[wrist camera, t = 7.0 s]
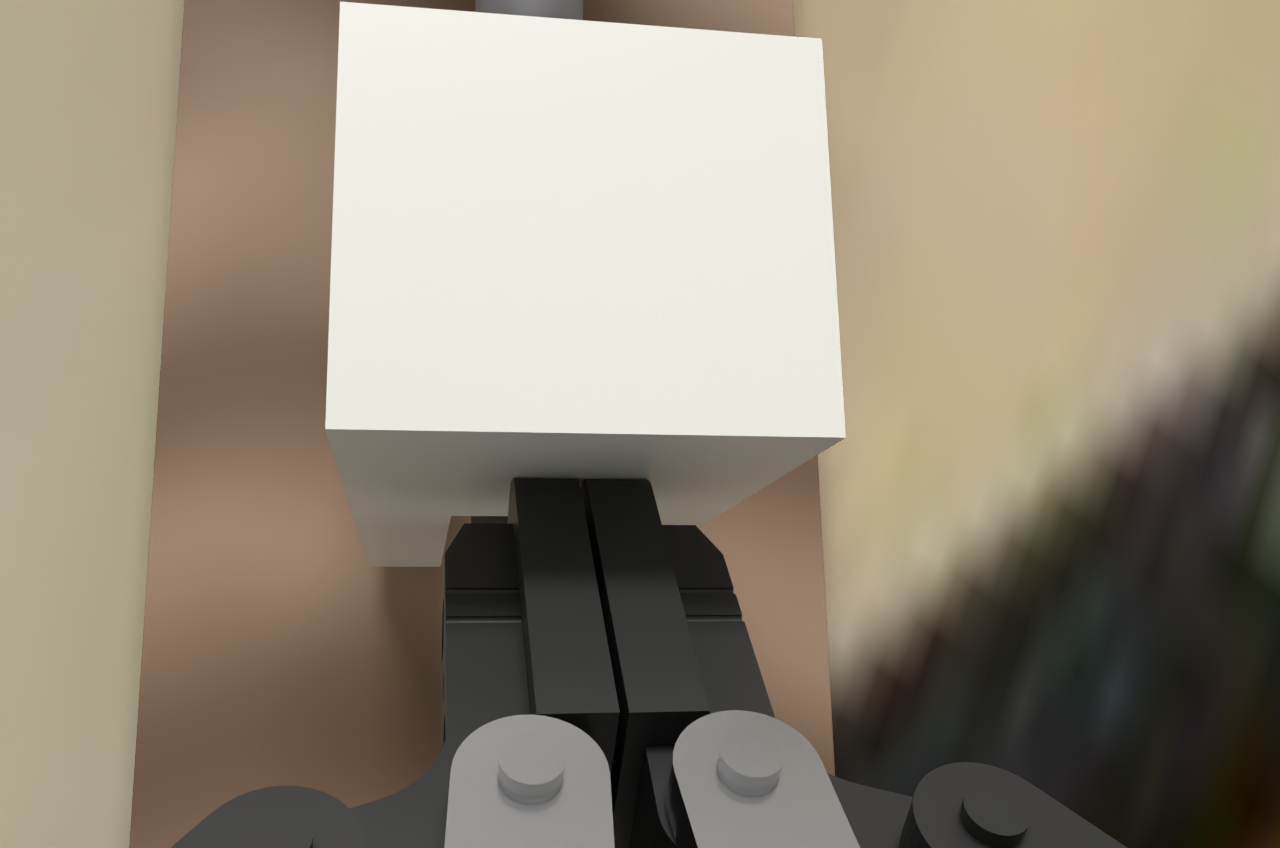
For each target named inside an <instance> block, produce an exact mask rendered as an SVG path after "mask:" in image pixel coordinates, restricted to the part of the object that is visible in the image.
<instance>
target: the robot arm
mask: <svg viewBox="0 0 1280 848" xmlns="http://www.w3.org/2000/svg"><path fill="white" fill-rule="evenodd" d="M733 589H734V587H733V584H732V581H731V578H730V574H729V571H728V568H727V565H726V562H725V559H724V556H723V554H722V553H721V552H720V551H719V549H718V548H717V547H716V546H715V545H714V544H713V543H712V542H711V541H710V540H709V539H708V538H707V537H706V536H705V535H704V534H703V533H702V531H701V530H700V529H699V528H698V527H697V526H696V525H662V523H661V519H660V515H659V512H658V508H657V504H656V500H655V496H654V492H653V489H652V485H651V483H650V481H649V480H613V479H584V480H583V482H582V484H581V488H580V483H579V480H578V479H559V478H513V479H512V481H511V485H510V494H509V508H508V522H507V524H500V523H464V524H463V526H462V527H461V529H460V530H459V532H458V533H457V535H456V537H455V538H454V540H453V541H452V543H451V544H450V546H449V548H448V549H447V551H446V552H445V560H444V586H443V611H442V637H441V752H440V754H439V756H438V758H437V759H436V761H435V762H434V763H433V765H432V766H431V767H430V769H429V770H428V771H426V772H425V773H424V774H423V775H422V776H421V777H420V778H419V779H418V780H416V781H415V782H413V783H412V784H411V785H409V786H408V787H406V788H404V789H402V790H400V791H398V792H396V793H394V794H392V795H389V796H387V797H384V798H381V799H379V800H375V801H372V802H369V803H366V804H362V805H359V806H356V807H353V808H350V809H349V808H348V807H347V806H346V805H345V804H344V803H342V802H341V801H340V800H338V799H337V798H335V797H333V796H331V795H329V794H327V793H325V792H323V791H319V790H316V789H313V788H309V787H302V786H273V787H266V788H262V789H258V790H254V791H250V792H248V793H245V794H243V795H240V796H237V797H235V798H234V799H232V800H230V801H228V802H226V803H224V804H223V805H221V806H220V807H219V808H217V809H216V810H215V811H213V812H212V813H211V814H209V815H208V816H207V817H206V818H205V819H204V820H202V821H201V822H200V823H199V824H198V825H197V826H195V827H194V828H193V829H192V830H191V831H189V832H188V833H187V834H186V835H185V836H184V837H182V838H181V839H180V840H179V841H178V842H177V843H175V844H174V845H173V846H172V847H171V848H1127V847H1125V846H1124V845H1122V844H1121V843H1119V842H1118V841H1116V840H1115V839H1113V838H1112V837H1110V836H1109V835H1107V834H1106V833H1104V832H1103V831H1101V830H1100V829H1098V828H1097V827H1095V826H1094V825H1092V824H1091V823H1089V822H1088V821H1086V820H1085V819H1083V818H1082V817H1080V816H1079V815H1077V814H1076V813H1074V812H1073V811H1071V810H1070V809H1068V808H1067V807H1065V806H1064V805H1062V804H1061V803H1059V802H1058V801H1056V800H1055V799H1053V798H1052V797H1050V796H1049V795H1047V794H1046V793H1044V792H1043V791H1041V790H1040V789H1038V788H1037V787H1035V786H1034V785H1032V784H1030V783H1029V782H1027V781H1026V780H1024V779H1022V778H1020V777H1019V776H1017V775H1015V774H1013V773H1010V772H1008V771H1006V770H1003V769H1000V768H997V767H994V766H991V765H986V764H981V763H970V762H961V763H952V764H948V765H943V766H941V767H939V768H936V769H934V770H932V771H931V772H930V773H928V774H927V775H926V776H924V778H923V779H922V780H921V781H920V782H919V784H918V786H917V788H916V790H915V793H914V796H913V797H910V796H906V795H902V794H898V793H893V792H889V791H885V790H881V789H877V788H872V787H868V786H864V785H860V784H856V783H853V782H849V781H846V780H843V779H840V778H838V777H836V776H833V775H831V774H829V773H827V772H826V770H825V767H824V765H823V763H822V760H821V759H820V757H819V755H818V753H817V751H816V750H815V748H814V747H813V746H812V745H811V743H810V742H809V741H808V740H807V739H806V738H805V737H804V736H803V735H802V734H801V733H799V732H798V731H797V730H795V729H794V728H792V727H791V726H790V725H788V724H786V723H784V722H782V721H780V720H778V719H776V718H775V716H774V712H773V709H772V706H771V703H770V700H769V697H768V694H767V690H766V687H765V684H764V681H763V678H762V675H761V672H760V668H759V665H758V662H757V659H756V656H755V653H754V650H753V647H752V643H751V640H750V637H749V634H748V631H747V628H746V625H745V621H742V612H741V609H740V606H739V603H738V600H737V596H736V594H734V592H733Z"/></svg>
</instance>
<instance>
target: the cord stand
mask: <svg viewBox="0 0 1280 848" xmlns="http://www.w3.org/2000/svg"><path fill="white" fill-rule="evenodd" d="M340 2H353V3H366V4H379V5H392V6H405V7H418V8H430V9H443V10H456V11H469V12H482V13H495V14H508V15H521V16H534V17H547V18H560V19H573V20H586V21H599V22H612V23H625V24H638V25H651V26H663V27H676V28H689V29H702V30H715V31H728V32H741V33H754V34H767V35H780V36H793V37H795V35H794V17H793V0H185V2H184V18H183V33H182V48H181V64H180V79H179V94H178V110H177V125H176V141H175V156H174V171H173V187H172V202H171V217H170V233H169V248H168V263H167V279H166V294H165V309H164V325H163V340H162V355H161V371H160V386H159V401H158V417H157V432H156V447H155V463H154V478H153V493H152V509H151V524H150V539H149V555H148V570H147V586H146V601H145V616H144V632H143V647H142V662H141V678H140V693H139V708H138V724H137V739H136V754H135V770H134V785H133V800H132V816H131V831H130V846H129V848H171V847H172V846H173V845H174V844H175V843H177V842H178V841H179V840H180V839H181V838H182V837H184V836H185V835H186V834H187V833H188V832H189V831H191V830H192V829H193V828H194V827H195V826H197V825H198V824H199V823H200V822H201V821H202V820H204V819H205V818H206V817H207V816H208V815H209V814H211V813H212V812H213V811H215V810H216V809H217V808H219V807H220V806H221V805H223V804H224V803H226V802H228V801H230V800H232V799H234V798H235V797H237V796H240V795H243V794H245V793H248V792H250V791H254V790H258V789H262V788H266V787H273V786H302V787H309V788H313V789H316V790H319V791H323V792H325V793H327V794H329V795H331V796H333V797H335V798H337V799H338V800H340V801H341V802H342V803H344V804H345V805H346V806H347V807H348V808H349V809H350V808H353V807H356V806H359V805H362V804H366V803H369V802H372V801H375V800H379V799H381V798H384V797H387V796H389V795H392V794H394V793H396V792H398V791H400V790H402V789H404V788H406V787H408V786H409V785H411V784H412V783H413V782H415V781H416V780H418V779H419V778H420V777H421V776H422V775H423V774H424V773H425V772H426V771H428V770H429V769H430V767H431V766H432V765H433V763H434V762H435V761H436V759H437V758H438V756H439V754H440V752H441V637H442V611H443V586H444V560H445V552H446V551H447V549H448V548H449V546H450V544H451V543H452V541H453V540H454V538H455V537H456V535H457V533H458V532H459V530H460V529H461V527H462V526H463V524H464V523H500V524H507V522H508V516H451V519H450V524H449V528H448V533H447V538H446V543H445V548H444V552H443V557H442V562H441V567H369V565H368V562H367V558H366V555H365V552H364V549H363V546H362V543H361V540H360V536H359V533H358V530H357V527H356V524H355V521H354V518H353V515H352V511H351V508H350V505H349V502H348V499H347V496H346V493H345V489H344V486H343V483H342V480H341V477H340V474H339V471H338V468H337V464H336V461H335V458H334V455H333V452H332V449H331V446H330V442H329V439H328V436H327V433H326V430H325V421H326V392H327V363H328V334H329V305H330V276H331V247H332V218H333V189H334V161H335V132H336V103H337V74H338V45H339V16H340ZM698 528H699V529H700V530H701V531H702V533H703V534H704V535H705V536H706V537H707V538H708V539H709V540H710V541H711V542H712V543H713V544H714V545H715V546H716V547H717V548H718V549H719V551H720V552H721V553H722V554H723V556H724V559H725V562H726V565H727V568H728V571H729V574H730V578H731V581H732V584H733V587H734V589H733V592H734V594H736V596H737V600H738V603H739V606H740V609H741V612H742V621H745V625H746V628H747V631H748V634H749V637H750V640H751V643H752V647H753V650H754V653H755V656H756V659H757V662H758V665H759V668H760V672H761V675H762V678H763V681H764V684H765V687H766V690H767V694H768V697H769V700H770V703H771V706H772V709H773V712H774V716H775V718H776V719H778V720H780V721H782V722H784V723H786V724H788V725H790V726H791V727H792V728H794V729H795V730H797V731H798V732H799V733H801V734H802V735H803V736H804V737H805V738H806V739H807V740H808V741H809V742H810V743H811V745H812V746H813V747H814V748H815V750H816V751H817V753H818V755H819V757H820V759H821V760H822V763H823V765H824V767H825V770H826V772H827V773H829V774H831V775H833V776H835V768H834V750H833V731H832V713H831V695H830V676H829V658H828V640H827V621H826V603H825V585H824V566H823V548H822V530H821V511H820V493H819V475H818V456H817V455H816V456H815V457H813V458H811V459H810V460H808V461H806V462H805V463H803V464H801V465H800V466H798V467H797V468H795V469H793V470H792V471H790V472H788V473H787V474H785V475H783V476H782V477H780V478H778V479H777V480H775V481H774V482H772V483H770V484H769V485H767V486H765V487H764V488H762V489H760V490H759V491H757V492H756V493H754V494H752V495H751V496H749V497H747V498H746V499H744V500H742V501H741V502H739V503H737V504H736V505H734V506H733V507H731V508H729V509H728V510H726V511H724V512H723V513H721V514H719V515H718V516H716V517H714V518H713V519H711V520H710V521H708V522H706V523H705V524H703V525H701V526H700V527H698Z"/></svg>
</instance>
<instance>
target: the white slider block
mask: <svg viewBox="0 0 1280 848" xmlns="http://www.w3.org/2000/svg"><path fill="white" fill-rule="evenodd" d="M325 430H326V433H327V436H328V439H329V442H330V446H331V449H332V452H333V455H334V458H335V461H336V464H337V468H338V471H339V474H340V477H341V480H342V483H343V486H344V489H345V493H346V496H347V499H348V502H349V505H350V508H351V511H352V515H353V518H354V521H355V524H356V527H357V530H358V533H359V536H360V540H361V543H362V546H363V549H364V552H365V555H366V558H367V562H368V565H369V567H441V562H442V557H443V552H444V548H445V543H446V538H447V533H448V528H449V524H450V519H451V516H508V508H509V494H510V485H511V481H512V479H513V478H559V479H578V480H579V483H580V488H581V484H582V482H583V480H584V479H613V480H649V481H650V483H651V485H652V489H653V492H654V496H655V500H656V504H657V508H658V512H659V515H660V519H661V523H662V525H696V526H697V527H700V526H701V525H703V524H705V523H706V522H708V521H710V520H711V519H713V518H714V517H716V516H718V515H719V514H721V513H723V512H724V511H726V510H728V509H729V508H731V507H733V506H734V505H736V504H737V503H739V502H741V501H742V500H744V499H746V498H747V497H749V496H751V495H752V494H754V493H756V492H757V491H759V490H760V489H762V488H764V487H765V486H767V485H769V484H770V483H772V482H774V481H775V480H777V479H778V478H780V477H782V476H783V475H785V474H787V473H788V472H790V471H792V470H793V469H795V468H797V467H798V466H800V465H801V464H803V463H805V462H806V461H808V460H810V459H811V458H813V457H815V456H816V455H818V454H820V453H821V452H823V451H824V450H826V449H828V448H829V447H831V446H833V445H834V444H836V443H838V442H839V441H841V440H843V439H844V438H846V435H845V418H844V401H843V385H842V368H841V351H840V335H839V318H838V301H837V285H836V268H835V251H834V234H833V218H832V201H831V184H830V168H829V151H828V134H827V117H826V101H825V84H824V67H823V51H822V39H819V38H806V37H793V36H780V35H767V34H754V33H741V32H728V31H715V30H702V29H689V28H676V27H663V26H651V25H638V24H625V23H612V22H599V21H586V20H573V19H560V18H547V17H534V16H521V15H508V14H495V13H482V12H469V11H456V10H443V9H430V8H418V7H405V6H392V5H379V4H366V3H353V2H340V16H339V45H338V74H337V103H336V132H335V161H334V189H333V218H332V247H331V276H330V305H329V334H328V363H327V392H326V421H325Z"/></svg>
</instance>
